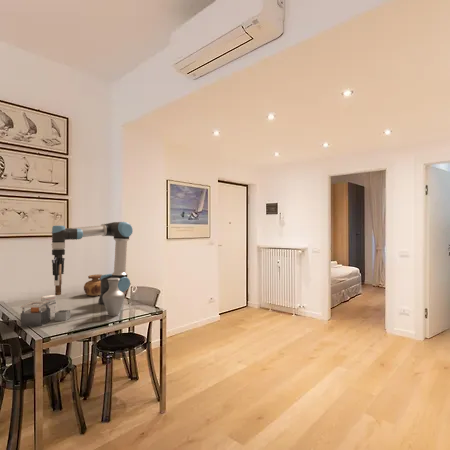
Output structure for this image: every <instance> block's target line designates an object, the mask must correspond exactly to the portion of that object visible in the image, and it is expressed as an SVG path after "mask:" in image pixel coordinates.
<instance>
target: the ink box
mask: <svg viewBox="0 0 450 450" xmlns="http://www.w3.org/2000/svg"><path fill="white" fill-rule="evenodd" d="M40 301H50V303H49V308H50V314H53V313H56V312H57V295H55V294H50V295H44V296H41V297H40ZM41 308H47V305H45V306H43V307H41Z"/></svg>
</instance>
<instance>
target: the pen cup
mask: <svg viewBox="0 0 450 450" xmlns="http://www.w3.org/2000/svg"><path fill="white" fill-rule="evenodd" d="M70 318H71V309H63V310H62V309H59V310H58V311H56V312H54V321H55V322H59V321H60V322H61V321H68V320H69V319H70Z"/></svg>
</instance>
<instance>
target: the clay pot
mask: <svg viewBox="0 0 450 450" xmlns="http://www.w3.org/2000/svg"><path fill="white" fill-rule="evenodd" d="M102 275H103V274H100V273H99V274H90V275H87V276H88V279H89V280H88V281H87V282H85V283H84V285H83V291H84V293H85V294H86V295H88V296H90V297H97V296H98V295H99V296H100V294H101V280H100V279H101V276H102Z"/></svg>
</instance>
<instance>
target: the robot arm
mask: <svg viewBox="0 0 450 450" xmlns="http://www.w3.org/2000/svg"><path fill="white" fill-rule="evenodd" d="M51 228H52V229H51V237H52V238H51V249H52V250H51V255H52V256H53V259H51V263H52V264H51V265H52V266H51V267H52V276H54V278H53V279H54V286H55V285H59V265H60V264H61V285H62V284H63V275H64V274H65V273H64V271H65V270H64V268H65V259H66V258H64V257H63V256H64V255H65V253H66V250H65V249H66V241H67V240H69V241H70V240H74V241H75V240H76V241H77V240H81V239H83V238H88V237H96V236H97V237H98V236H102V237H113V240H114V242H115V244H114V267H113V272H112V273H108V274H107V273H106V274H101V275H102V276H101V279H100V278H99V279H100V280H101V294H100V295H99V298H98V303H97V304H98V305H101V306H102V305H103V306H105V305H104V302H103V295H104V294H105V293H106V292H107V291H108V290H109V282H108V280H107V279H109V278H120V280H119V282H118V288H119V290H120V291H121V292H123V293H124V292H126V291H127V290H128V289H129V288H130V286H131V280H130V279H129V277H128V272H127V271H126V270H127V268H126V267H127V250H128V249H127V247H128V241H129V240H130V237H131V236H132V234H133V229H134V228H133V226H132V224H130V222H127V221H114V222H108V223H102V224H100V225H93V226H79V227H67V228H66V226H65V225H52V227H51Z"/></svg>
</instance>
